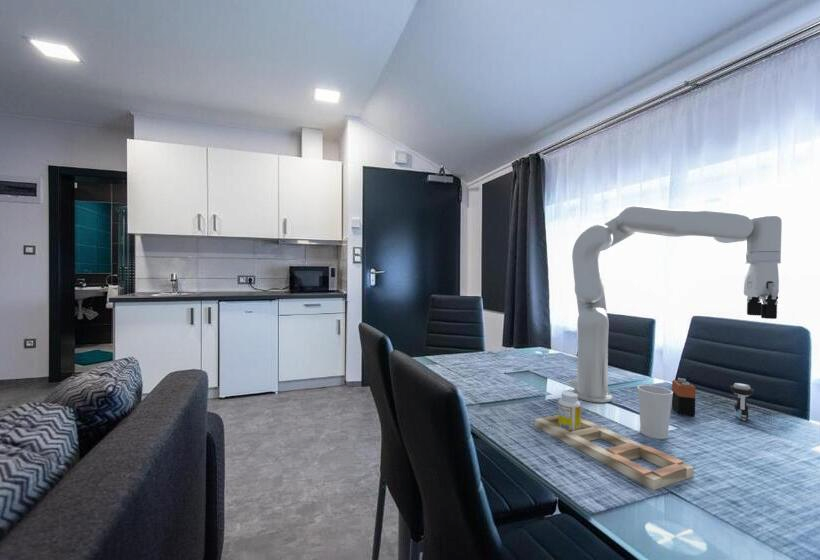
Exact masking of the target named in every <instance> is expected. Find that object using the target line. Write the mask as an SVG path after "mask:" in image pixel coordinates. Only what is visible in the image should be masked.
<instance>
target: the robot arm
mask: <svg viewBox="0 0 820 560" xmlns="http://www.w3.org/2000/svg"><path fill="white" fill-rule="evenodd" d="M782 225H783V223H782V218H781V217H779V215H760V216H753V217H751V218H750V217H748V216H747V215H745V214H741V213H731V212H723V211H713V210H712V211H711V210H689V209H688V210H687V209H672V208H661V207H653V206H652V207H651V206H640V205H630V206H626V207H624V208H623V209H622V210H621V211H620V213H619V214H618V215H617V216H615V217H613V219H610V220H609V221H607V222H605V223H604V224H595V225H592V226H589V228H587V229H585V230H584V231H583V232H582V233H581V234H580V235H579V236H578V237H577V239H576V240H575V243H574V245H573V248H572V254H571V256H572V258H571V259H572V267H573V268H572V269H573V278H574V294H575V296H576V303H577V309H578V310H577V311H578V317H577V358H576V359H577V365H576V366H577V367H576V373H577V374H576V379H575V378H572V379H571V380H570V381H569V385H571V386H574V388H573V390H571V392H573V393H576V394H577V395H578V399H579V400H582V401H586V402H590V403H591V402H592V403H598V404H599V403H601V404H602V403H603V404H604V403H610V402H611V401H613V395H612V394H610V393H608V368H609V367H608V365H609V364H608V363H609V331H610V330H609V328H610V324H609V323H610V321H609V316H608V312H607V310H608V309H607V303H606V297H605V296H606V295H605V286H604V283H603V282H602V281H603V280H602V274H601V264H600V263H601V262H600V253H601V252H603V251H605V250H608V249H609V248H611V247H613V246H615V245H617V244H618V243H620V242H622V241H624V240H626V239H628V238H629V237H631V236H632V235H635V233H638V234H639V233H642V234H648V235H649V234H650V235H656V236H664V237H678V238H679V237H688V236H689V237H693V236H695V237H697V236H698V237H707V238H712V239H713V240H715V241H716V242H719V243H723V244H731V243H732V244H733V243H738V242H739V243H740V242H745V253H744V254H745V258H744V260H745V264H746V268H745V275H744V283H743V294H744V296H746V297H747V298H746V315H747V316H757V317H758V316H760V318H761V319H766V320H767V319H770V320H776V319H778V302H779V301H778V299H779V296H778V295H779V290H780V288H779V287H780V285H779V283H780V281H779V280H780V279H779V278H780V277H779V266H778V265H779V264H782V261H781V257H782V227H783V226H782Z"/></svg>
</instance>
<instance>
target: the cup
mask: <svg viewBox="0 0 820 560" xmlns="http://www.w3.org/2000/svg"><path fill="white" fill-rule="evenodd" d="M636 388H637V389H636V390H637V398H638V408H639V409H638V410H639V411H638V412H639V424H640V425H639V432H640V434H642V435H644V436H645V437H647V438H653V439H655V440H656V439H657V440H666V439H668V438H669V428H670V419H671V410H672V397H673V392H672V390H670V389H669V388H665V387H662V386H657V385H656V386H655V385H652V384H651V385H650V384H649V385H648V384H645V385H644V384H642V385H641V384H640V385H638V386H637V387H636Z"/></svg>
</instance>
